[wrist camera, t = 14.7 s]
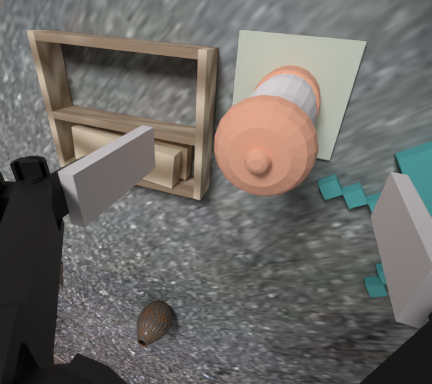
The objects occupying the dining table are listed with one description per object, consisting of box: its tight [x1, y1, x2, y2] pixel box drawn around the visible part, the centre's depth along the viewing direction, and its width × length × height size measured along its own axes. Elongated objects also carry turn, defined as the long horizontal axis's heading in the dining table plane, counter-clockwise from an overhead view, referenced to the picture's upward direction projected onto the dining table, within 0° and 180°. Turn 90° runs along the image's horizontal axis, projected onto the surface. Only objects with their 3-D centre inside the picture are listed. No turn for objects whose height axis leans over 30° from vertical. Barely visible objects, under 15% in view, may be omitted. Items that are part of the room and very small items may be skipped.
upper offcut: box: [72, 124, 182, 188], centre depth 41 cm, size 5×16×2 cm, turn 81°
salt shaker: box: [214, 65, 321, 196], centre depth 25 cm, size 7×7×19 cm
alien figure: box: [318, 141, 432, 298], centre depth 34 cm, size 20×2×20 cm
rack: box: [27, 30, 218, 200], centre depth 39 cm, size 19×24×4 cm
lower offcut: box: [78, 123, 193, 180], centre depth 43 cm, size 5×18×2 cm, turn 84°
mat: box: [232, 30, 367, 160], centre depth 33 cm, size 13×13×1 cm
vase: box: [137, 301, 172, 347], centre depth 59 cm, size 7×7×9 cm
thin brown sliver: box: [59, 261, 63, 286], centre depth 69 cm, size 12×3×1 cm, turn 161°
